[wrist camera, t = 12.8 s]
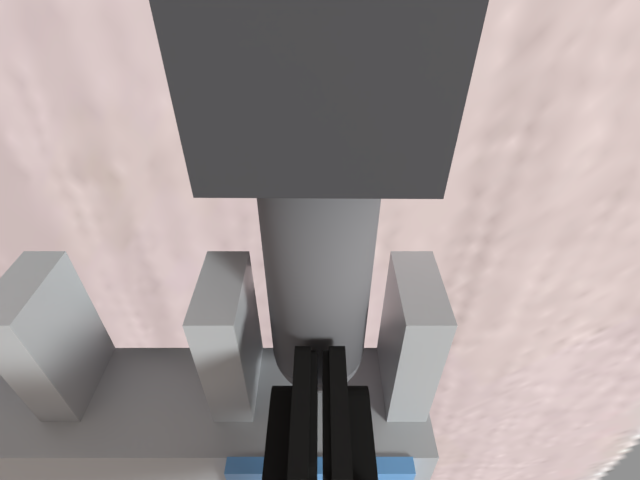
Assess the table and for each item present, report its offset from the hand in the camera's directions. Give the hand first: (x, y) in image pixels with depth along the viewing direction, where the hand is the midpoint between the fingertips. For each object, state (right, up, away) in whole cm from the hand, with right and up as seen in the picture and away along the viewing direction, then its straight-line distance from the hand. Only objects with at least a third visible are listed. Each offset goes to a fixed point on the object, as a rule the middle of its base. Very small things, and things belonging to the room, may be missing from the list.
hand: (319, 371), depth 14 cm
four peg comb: (-7, 0, +5) cm, 9 cm away
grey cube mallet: (0, +7, 0) cm, 7 cm away
